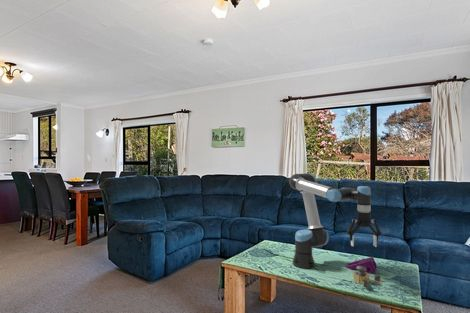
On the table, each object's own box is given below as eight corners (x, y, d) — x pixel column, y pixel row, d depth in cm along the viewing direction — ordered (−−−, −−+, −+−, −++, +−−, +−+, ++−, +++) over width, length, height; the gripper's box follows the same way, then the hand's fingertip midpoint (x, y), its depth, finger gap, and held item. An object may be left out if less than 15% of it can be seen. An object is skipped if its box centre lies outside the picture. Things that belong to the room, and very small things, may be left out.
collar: (352, 276, 174) (352, 269, 174) (367, 278, 172) (367, 270, 172) (357, 288, 158) (357, 280, 158) (373, 290, 156) (373, 282, 156)
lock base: (338, 284, 166) (338, 269, 166) (335, 275, 179) (335, 261, 179) (390, 290, 159) (390, 275, 159) (383, 280, 172) (383, 265, 172)
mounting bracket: (350, 280, 186) (377, 274, 177) (344, 267, 188) (371, 261, 179) (352, 275, 194) (378, 269, 185) (347, 263, 196) (372, 256, 187)
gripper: (345, 212, 169) (345, 247, 169) (387, 213, 168) (387, 248, 168) (341, 210, 177) (341, 243, 177) (381, 210, 176) (381, 244, 175)
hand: (363, 246), depth 172 cm, fingers open, 13 cm apart
